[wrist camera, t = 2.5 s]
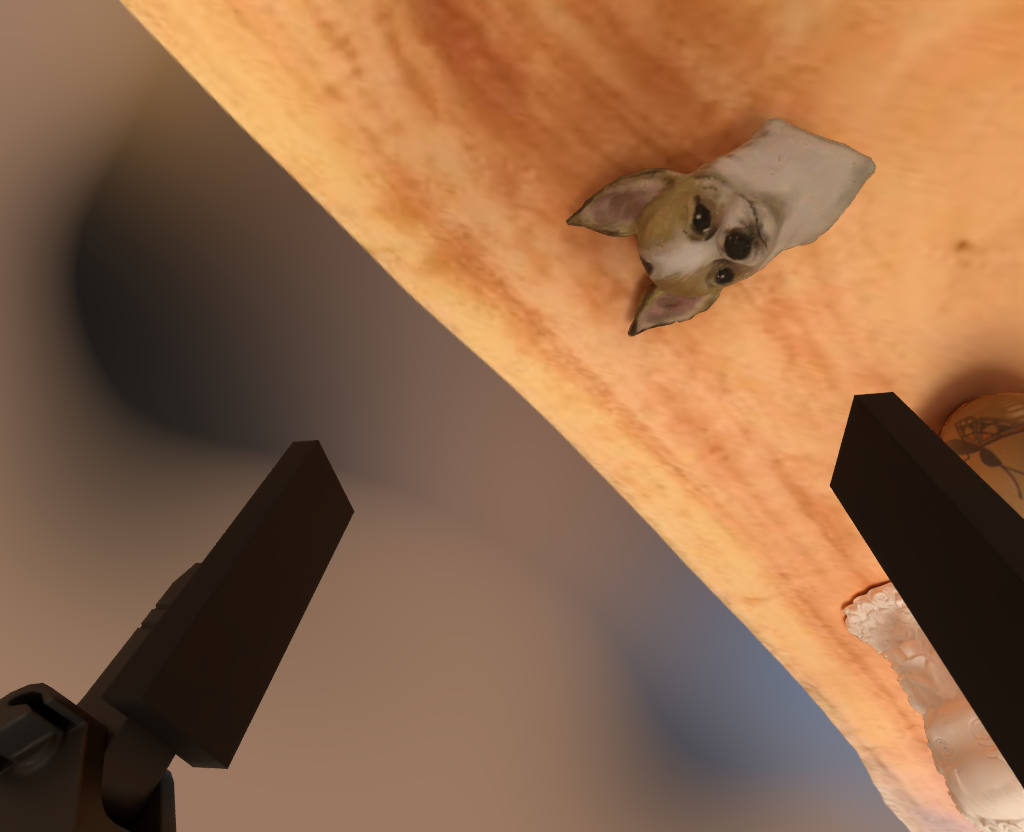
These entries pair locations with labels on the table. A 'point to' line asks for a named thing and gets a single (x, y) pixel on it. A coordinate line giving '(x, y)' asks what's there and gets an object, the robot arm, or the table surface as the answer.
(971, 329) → the table surface
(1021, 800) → the cherub figurine
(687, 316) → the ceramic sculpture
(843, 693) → the table surface
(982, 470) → the ceramic vessel
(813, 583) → the table surface
